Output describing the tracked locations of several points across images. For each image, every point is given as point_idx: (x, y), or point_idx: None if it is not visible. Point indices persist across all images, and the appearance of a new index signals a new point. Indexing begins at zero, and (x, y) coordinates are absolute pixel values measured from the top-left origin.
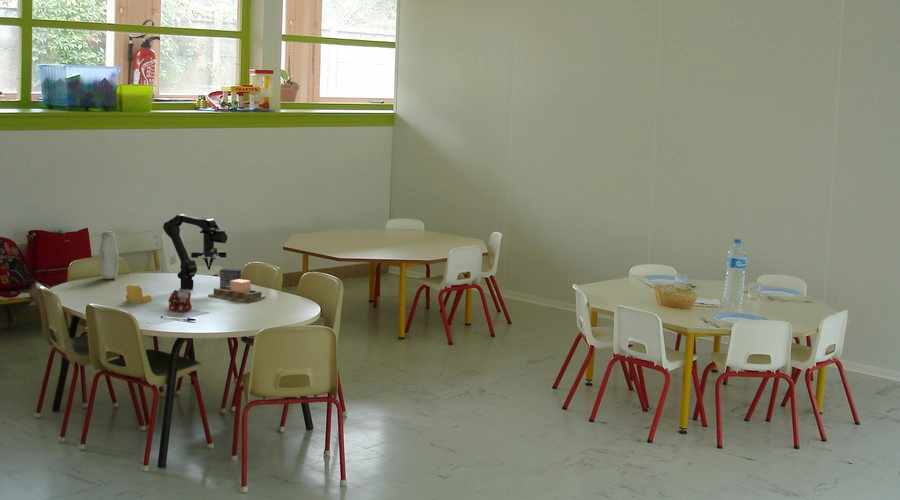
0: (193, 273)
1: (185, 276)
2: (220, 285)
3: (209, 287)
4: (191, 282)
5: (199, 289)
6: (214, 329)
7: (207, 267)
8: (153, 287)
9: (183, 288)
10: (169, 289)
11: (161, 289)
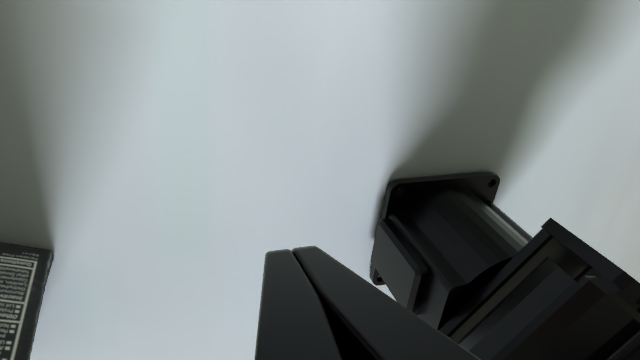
0: (473, 335)
1: (574, 236)
2: (38, 275)
3: (196, 286)
4: (427, 247)
5: (314, 184)
6: None
7: (372, 286)
8: (628, 252)
9: (473, 183)
10: (567, 185)
11: (617, 185)
